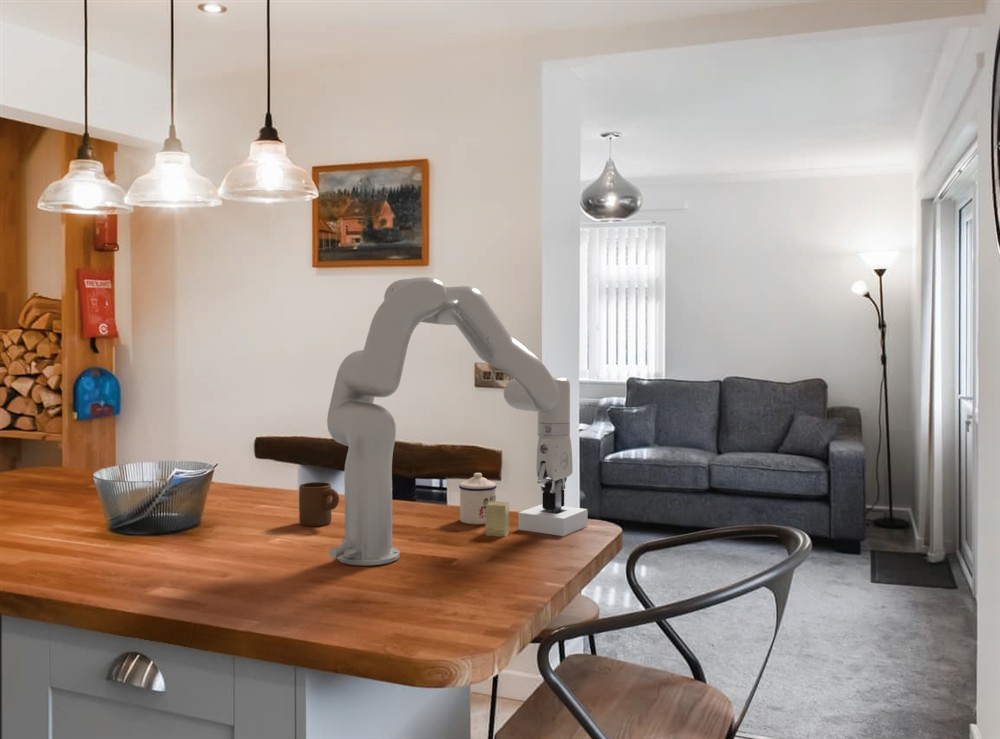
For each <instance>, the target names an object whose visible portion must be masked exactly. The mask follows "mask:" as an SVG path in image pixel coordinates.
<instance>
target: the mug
mask: <svg viewBox="0 0 1000 739" xmlns="http://www.w3.org/2000/svg"><path fill="white" fill-rule="evenodd" d="M298 488H299V491H298V506H299V507H298V510H299V511H298V513H299V515H298V516H299V517H298V519H299V524H300V525H301V526H304V527H309V528H310V527H312V528H313V527H324V526H327V525H330V524H331V523H332V517H333V516H332V510H335V509H336V508H337V507H338V505H339V502H340V496H339V492H338V491H337V490H336V489H334V488H332V484H331V483H329V482H324V481H323V482H321V481H319V482H318V481H316V482H315V481H313V482H305V483H301V484H299V487H298Z"/></svg>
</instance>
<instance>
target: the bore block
mask: <svg viewBox="0 0 1000 739" xmlns="http://www.w3.org/2000/svg"><path fill="white" fill-rule="evenodd" d="M542 505H543V503H541V504H538V505H535V506H533V507H530V508H527V509H524V510H522V511H519V512H518V514H517V516H518V520H517V521H518V525H517V527H518V530H519V531H525V532H534V533H541V534H546V535H554V536H561V537H565V536H568V535H570V534H572V533H574V532H577V531H579V530H581V529H584V528H586V527H588V516H589V515H588V513H589V511H588V509H587V508H582V507H572V506H566V505H564V506H563V507H561V513H559V514H554V513H546V509H543V507H542Z"/></svg>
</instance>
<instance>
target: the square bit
mask: <svg viewBox="0 0 1000 739" xmlns="http://www.w3.org/2000/svg"><path fill="white" fill-rule="evenodd" d="M509 533H510V502H509V501H490V502H489V503H487V504H486V524H485V537H486V536H487V537H488V536H489V537H504V538H505V537H506V536H507V535H508V534H509Z"/></svg>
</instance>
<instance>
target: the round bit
mask: <svg viewBox="0 0 1000 739" xmlns="http://www.w3.org/2000/svg"><path fill="white" fill-rule="evenodd" d="M546 482H547V481H546ZM548 483H549V485H550V482H548ZM554 493H556V509H555V510H548V509H546V513H554V514H559V513H561V480H556V481H555V486H554Z"/></svg>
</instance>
